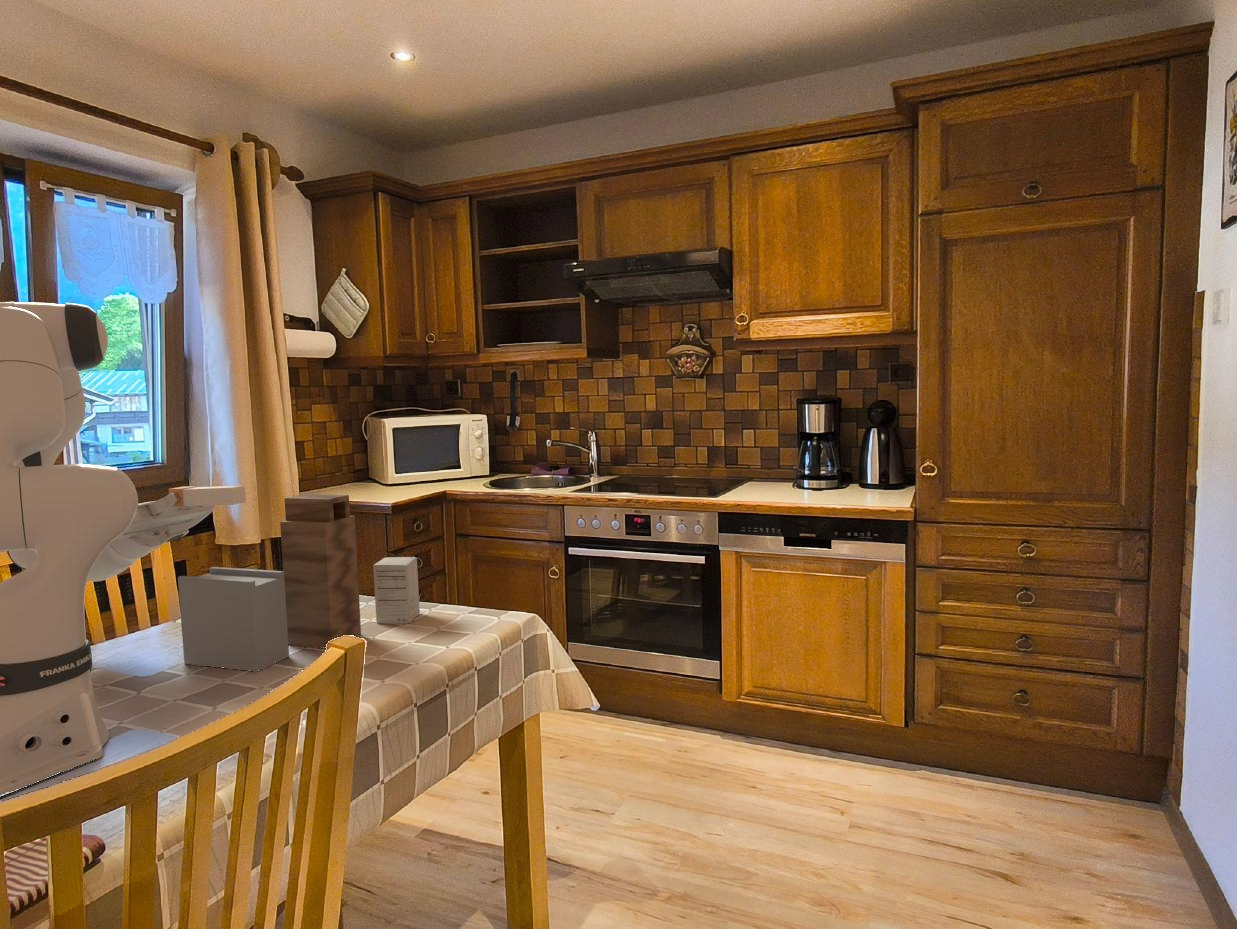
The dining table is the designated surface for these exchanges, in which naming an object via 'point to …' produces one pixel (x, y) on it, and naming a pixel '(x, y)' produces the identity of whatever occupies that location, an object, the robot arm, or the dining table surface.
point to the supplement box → (396, 589)
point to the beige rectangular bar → (210, 495)
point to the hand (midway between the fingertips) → (187, 494)
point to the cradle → (234, 618)
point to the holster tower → (320, 569)
